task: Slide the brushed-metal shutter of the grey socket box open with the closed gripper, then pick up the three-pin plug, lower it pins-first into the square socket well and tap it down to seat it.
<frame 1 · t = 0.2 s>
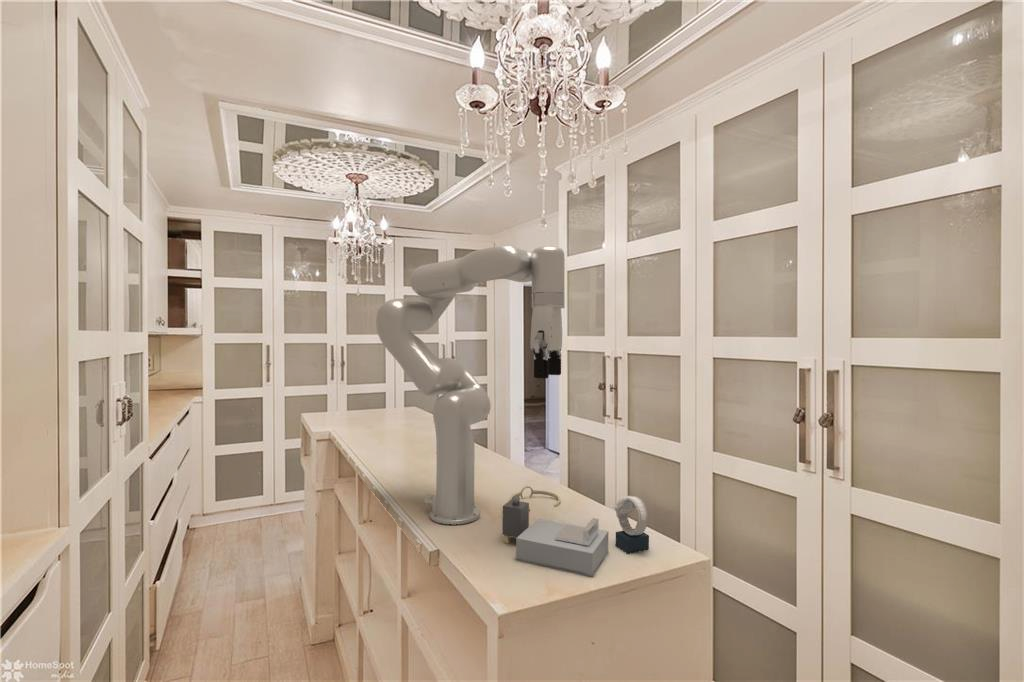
hand: (548, 376, 116), 36 cm above the countertop, tool pointing down, fingers open, 9 cm apart
plug: (515, 540, 112), on the countertop
socket box: (562, 556, 105), on the countertop
watch: (631, 548, 109), on the countertop
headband: (533, 505, 137), on the countertop
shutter: (577, 528, 103), point 6 cm above the countertop, slide at 0.0 cm
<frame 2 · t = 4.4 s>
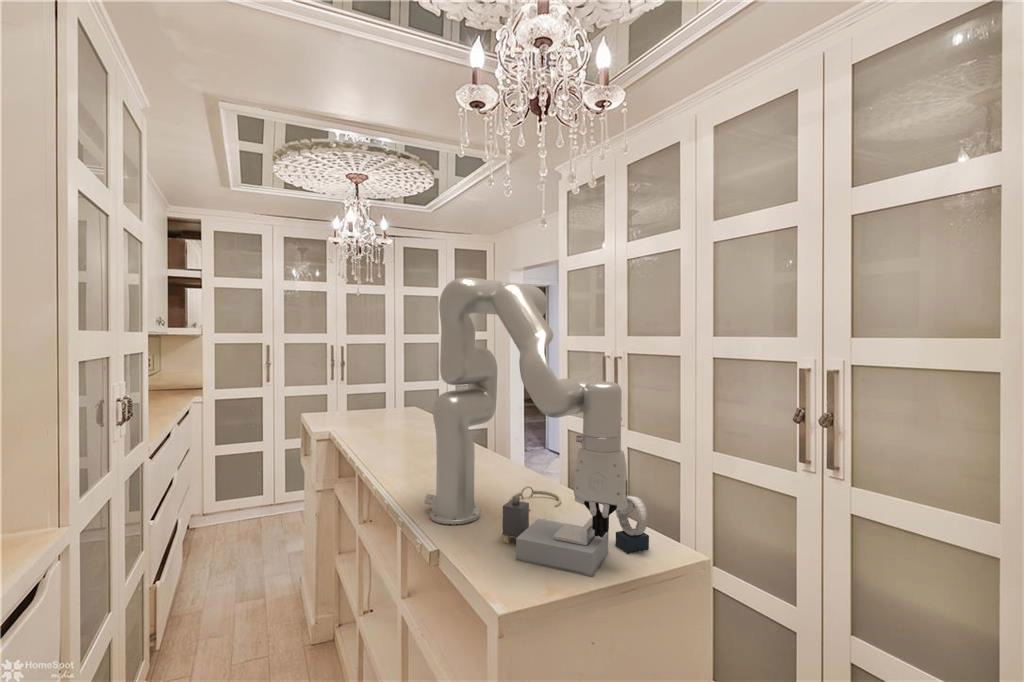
hand: (600, 534, 101), 6 cm above the countertop, tool pointing down, fingers closed
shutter: (575, 528, 103), point 6 cm above the countertop, slide at 0.4 cm, touching gripper
everything else where it was.
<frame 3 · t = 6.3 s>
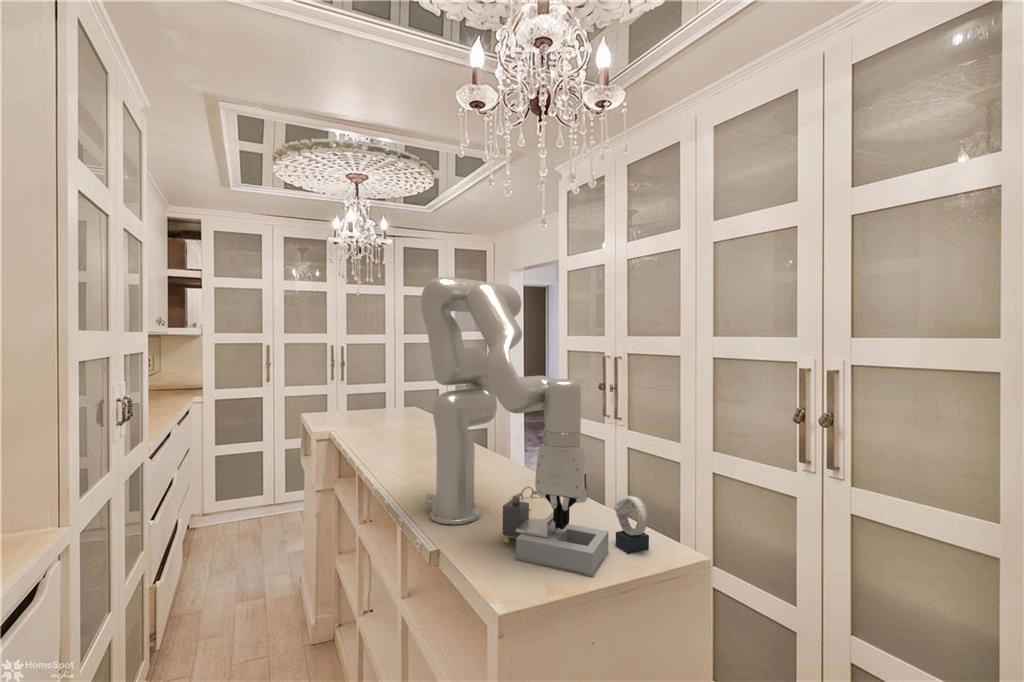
hand: (561, 526, 105), 6 cm above the countertop, tool pointing down, fingers closed
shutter: (537, 521, 107), point 6 cm above the countertop, slide at 8.7 cm, touching gripper
everything else where it was.
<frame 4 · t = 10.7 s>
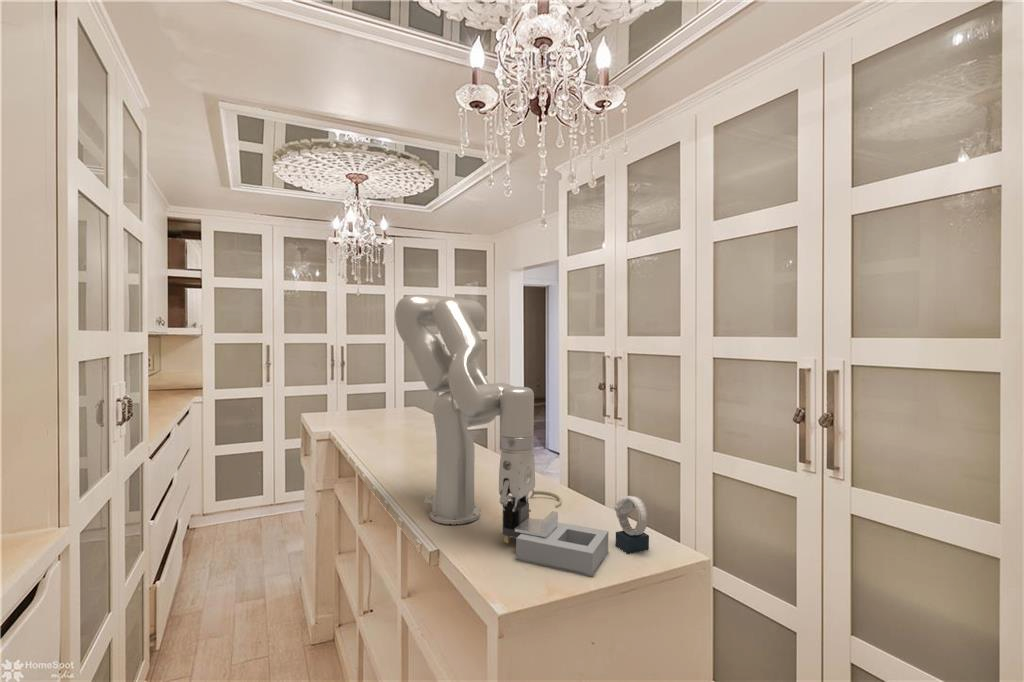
hand: (515, 523, 112), 4 cm above the countertop, tool pointing down, fingers closed on plug, 4 cm apart
plug: (515, 541, 112), on the countertop, touching gripper
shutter: (536, 521, 107), point 6 cm above the countertop, slide at 9.0 cm
everything else where it was.
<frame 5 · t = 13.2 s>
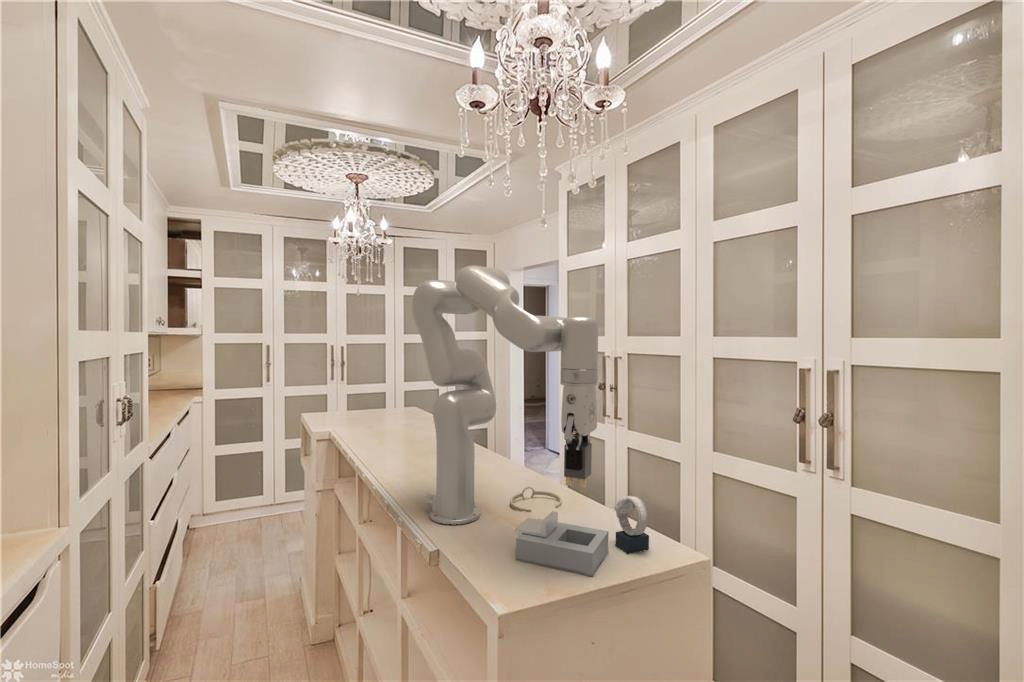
hand: (577, 465, 103), 19 cm above the countertop, tool pointing down, fingers closed on plug, 4 cm apart
plug: (577, 483, 103), point 15 cm above the countertop, touching gripper
everything else where it was.
when the fingers open (5 cm above the countertop, at t = 16.1 s): plug drops 1 cm, resting on socket box.
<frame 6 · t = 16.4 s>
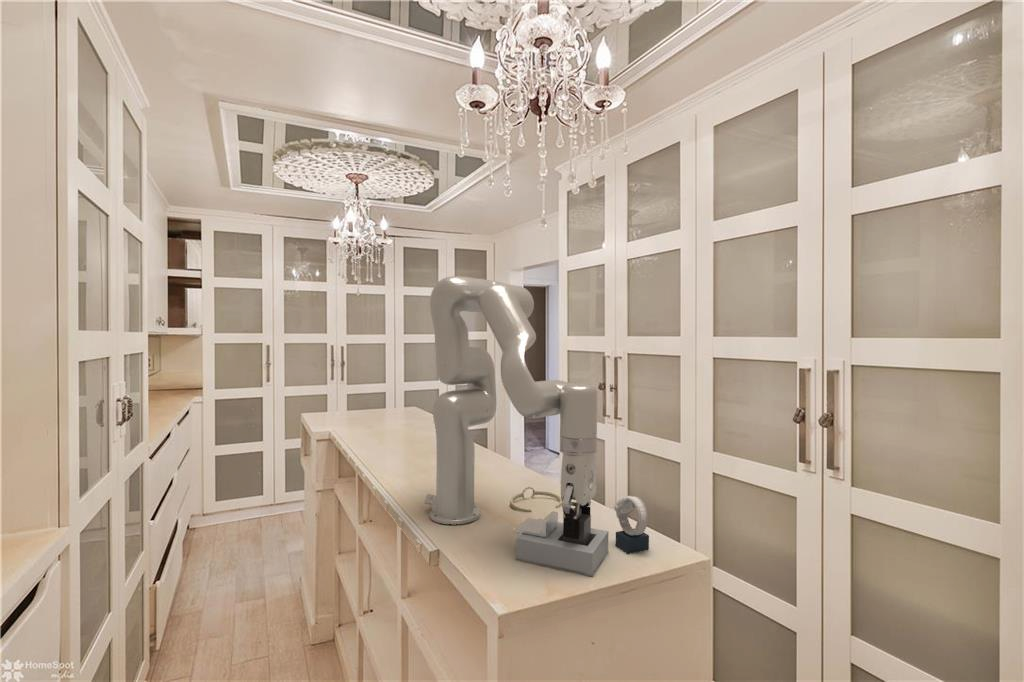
hand: (577, 530, 103), 6 cm above the countertop, tool pointing down, fingers open, 6 cm apart
plug: (576, 556, 103), resting on socket box
everything else where it was.
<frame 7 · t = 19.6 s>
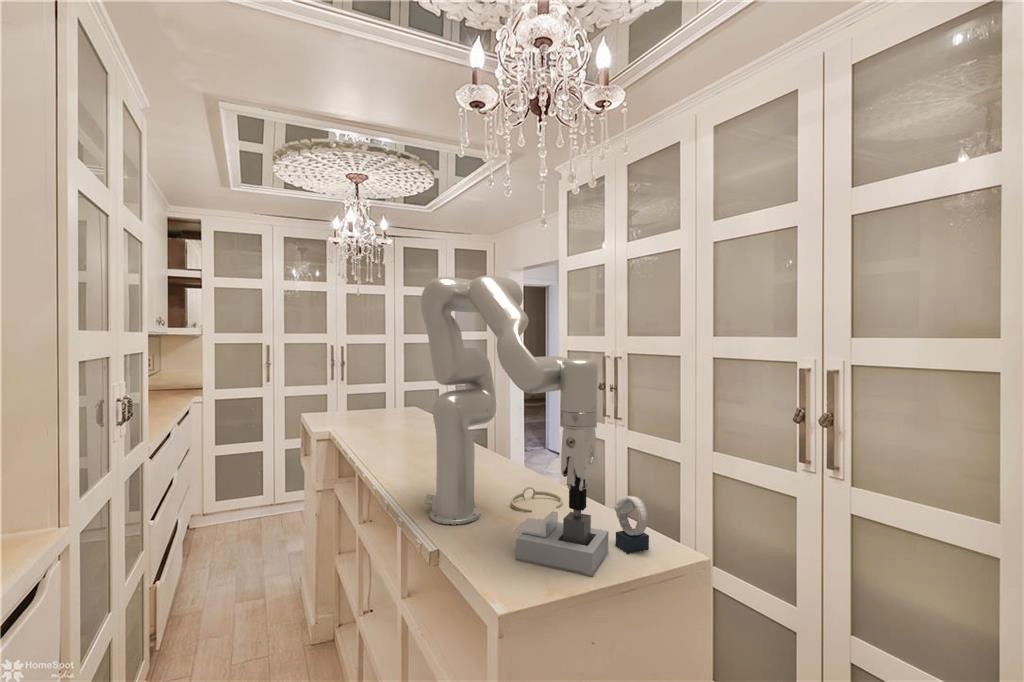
hand: (577, 508, 103), 10 cm above the countertop, tool pointing down, fingers closed
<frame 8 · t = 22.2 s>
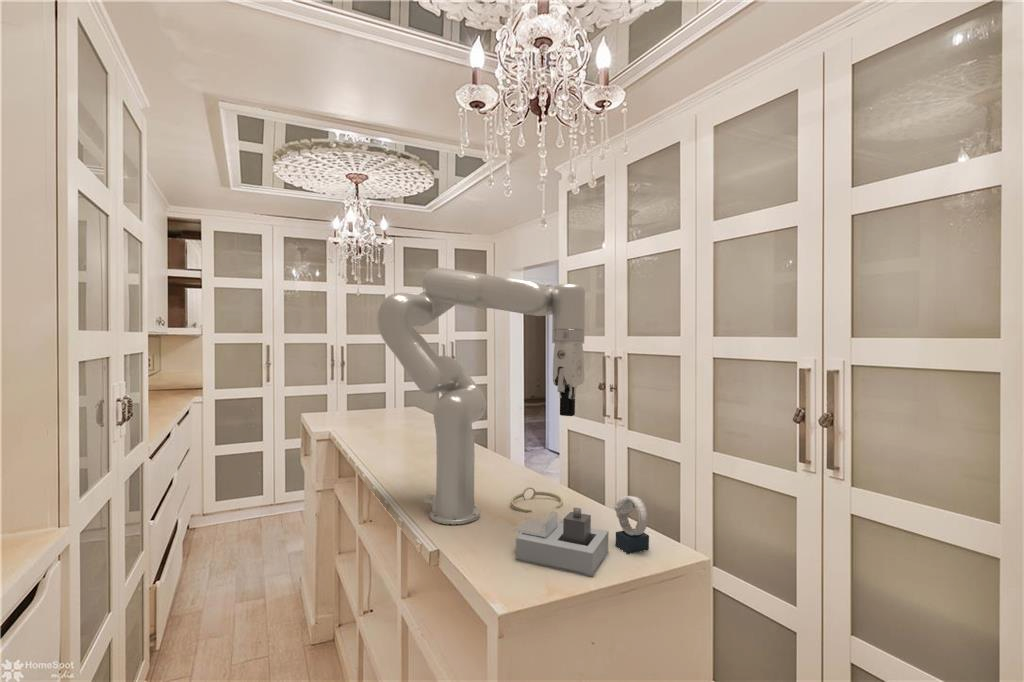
hand: (567, 415, 118), 27 cm above the countertop, tool pointing down, fingers closed
at the end: plug 0.0 cm from the target spot on the socket box, point 0.5 cm above the socket box's base; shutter slide at 9.0 cm; plug tilted 0° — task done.
